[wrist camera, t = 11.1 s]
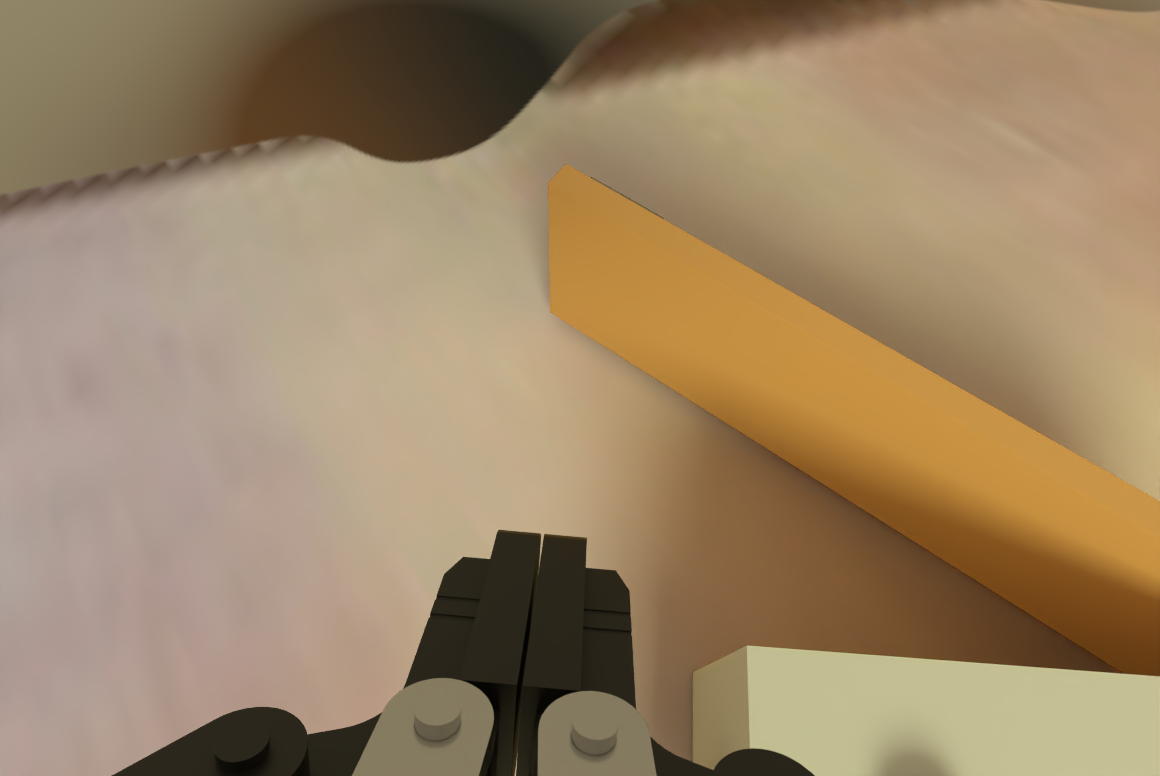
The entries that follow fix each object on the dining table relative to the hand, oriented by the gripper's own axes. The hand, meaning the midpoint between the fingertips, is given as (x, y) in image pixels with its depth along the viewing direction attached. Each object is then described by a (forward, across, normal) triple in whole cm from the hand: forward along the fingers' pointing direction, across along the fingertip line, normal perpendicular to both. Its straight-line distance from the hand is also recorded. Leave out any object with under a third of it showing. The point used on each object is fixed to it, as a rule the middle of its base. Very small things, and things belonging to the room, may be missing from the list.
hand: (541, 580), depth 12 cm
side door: (+15, +10, -4) cm, 19 cm away
